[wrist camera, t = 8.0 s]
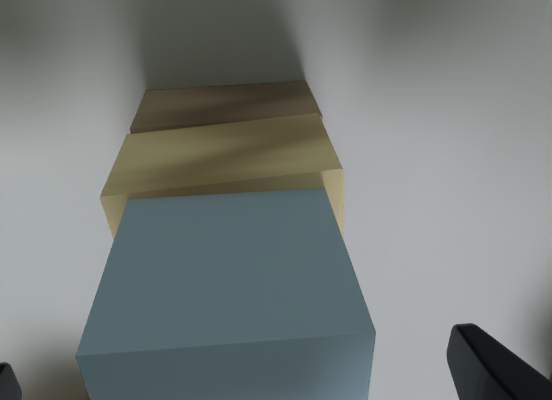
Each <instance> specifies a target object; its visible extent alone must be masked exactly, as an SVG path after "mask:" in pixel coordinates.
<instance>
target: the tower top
mask: <svg viewBox="0 0 552 400" xmlns="http://www.w3.org/2000/svg"><path fill="white" fill-rule="evenodd" d="M315 188H325V189H326V192H327V195H328V198H329V201H330V204H331V206H332V209H333V212H334V215H335V218H336V221H337V223H338V226H339V229H340V232H341V235H342V238H343V240H344V223H343V168H342V166H341V164H340V161H339V159H338V157H337V155H336V152H335V150H334V148H333V146H332V143H331V141H330V139H329V137H328V134H327V132H326V130H325V128H324V125H323V123H322V121H321V119H320V116H319V114H318V113H313V114H304V115H295V116H286V117H277V118H269V119H260V120H251V121H242V122H233V123H224V124H215V125H206V126H198V127H189V128H180V129H171V130H162V131H153V132H144V133H136V134H127V135H126V138H125V140H124V142H123V145H122V147H121V149H120V152H119V154H118V156H117V158H116V161H115V163H114V165H113V168H112V170H111V172H110V175H109V177H108V179H107V182H106V184H105V186H104V188H103V191H102V193H101V195H100V199H101V202H102V205H103V208H104V211H105V214H106V218H107V221H108V224H109V227H110V230H111V233H112V237H113V240H114V239H115V236H116V233H117V230H118V227H119V224H120V221H121V218H122V215H123V212H124V209H125V206H126V203H127V200H128V199H140V198H157V197H175V196H192V195H210V194H228V193H245V192H263V191H280V190H298V189H315Z"/></svg>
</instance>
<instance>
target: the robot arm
mask: <svg viewBox="0 0 552 400" xmlns="http://www.w3.org/2000/svg"><path fill="white" fill-rule="evenodd" d="M447 362H448V365H449V368H450V371H451V375H452V378H453V381H454V384H455V387H456V390H457V394H458V397H459V400H552V382H551V381H550V380H549V379H547V378H546V377H545V376H543V375H542V374H541V373H539V372H538V371H537V370H535V369H534V368H533V367H531V366H530V365H529V364H527V363H526V362H525V361H523V360H522V359H521V358H519V357H518V356H517V355H515V354H514V353H513V352H511V351H510V350H509V349H507V348H506V347H505V346H503V345H502V344H501V343H499V342H498V341H497V340H496V339H494V338H493V337H492V336H490V335H489V334H488V333H486V332H485V331H484V330H482V329H481V328H480V327H478V326H477V325H475V324H472V323H466V324H456V325H454V326H453V328H452V330H451V335H450V339H449V343H448V348H447ZM0 400H22V391H21V387H20V385H19V383H18V381H17V378H16V376H15V374H14V372H13V369H12V367H11V365H10V364H8V363H6V362H2V363H0Z"/></svg>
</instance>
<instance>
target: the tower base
mask: <svg viewBox="0 0 552 400" xmlns="http://www.w3.org/2000/svg"><path fill="white" fill-rule="evenodd" d="M313 113H318V114H319V116H320V119H321V121H322V114H321V112H320V110H319V108H318V106H317V103H316V101H315V99H314V97H313V95H312V93H311V90H310V88H309V86H308V84H307V82H306V81H290V82H274V83H258V84H242V85H226V86H210V87H194V88H178V89H162V90H146V92H145V94H144V97H143V99H142V101H141V104H140V106H139V108H138V111H137V113H136V115H135V118H134V120H133V122H132V125H131V127H130V131H131V134H136V133H144V132H153V131H162V130H171V129H180V128H189V127H198V126H206V125H215V124H224V123H233V122H242V121H251V120H260V119H269V118H277V117H286V116H295V115H304V114H313Z"/></svg>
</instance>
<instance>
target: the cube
mask: <svg viewBox="0 0 552 400" xmlns="http://www.w3.org/2000/svg"><path fill="white" fill-rule="evenodd" d="M375 336H376V331H375V328H374V326H373V323H372V320H371V317H370V314H369V311H368V309H367V306H366V303H365V300H364V297H363V294H362V291H361V289H360V286H359V283H358V280H357V277H356V274H355V272H354V269H353V266H352V263H351V260H350V257H349V255H348V252H347V249H346V246H345V243H344V240H343V238H342V235H341V232H340V229H339V226H338V223H337V221H336V218H335V215H334V212H333V209H332V206H331V204H330V201H329V198H328V195H327V192H326V189H325V188H315V189H298V190H280V191H263V192H245V193H228V194H210V195H192V196H175V197H157V198H140V199H128V200H127V203H126V206H125V209H124V212H123V215H122V218H121V221H120V224H119V227H118V230H117V233H116V236H115V239H114V242H113V245H112V248H111V251H110V254H109V257H108V260H107V263H106V266H105V269H104V272H103V275H102V278H101V281H100V284H99V287H98V290H97V293H96V296H95V299H94V302H93V305H92V308H91V311H90V314H89V317H88V320H87V323H86V326H85V329H84V332H83V335H82V338H81V341H80V344H79V347H78V350H77V353H76V359H77V362H78V365H79V368H80V371H81V374H82V377H83V380H84V383H85V387H86V390H87V393H88V396H89V399H90V400H367V399H368V391H369V384H370V376H371V368H372V360H373V352H374V344H375Z"/></svg>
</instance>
